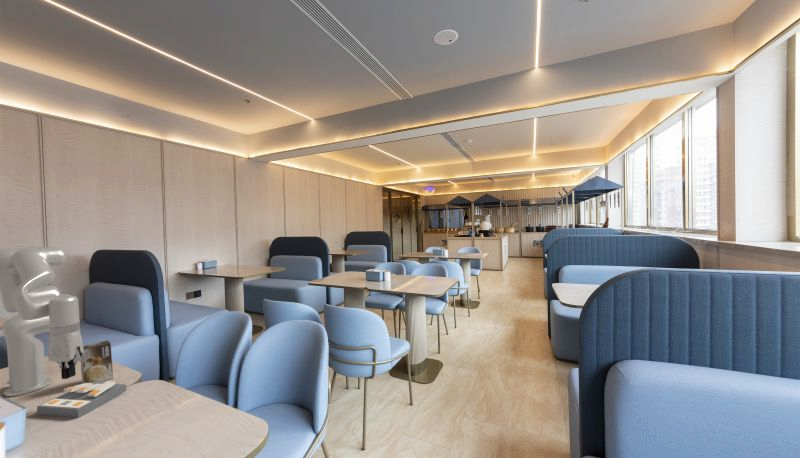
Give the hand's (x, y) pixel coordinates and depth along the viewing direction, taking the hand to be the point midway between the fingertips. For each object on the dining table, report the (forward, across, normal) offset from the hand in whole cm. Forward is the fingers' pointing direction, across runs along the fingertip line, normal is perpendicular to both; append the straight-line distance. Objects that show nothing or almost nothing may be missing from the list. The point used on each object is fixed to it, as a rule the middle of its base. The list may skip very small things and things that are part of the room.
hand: (68, 377), depth 113 cm
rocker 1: (+6, -1, +3) cm, 7 cm away
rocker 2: (+6, +5, +3) cm, 9 cm away
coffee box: (+10, -9, +16) cm, 21 cm away
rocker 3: (+6, +10, +3) cm, 13 cm away
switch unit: (+10, +5, +1) cm, 11 cm away
